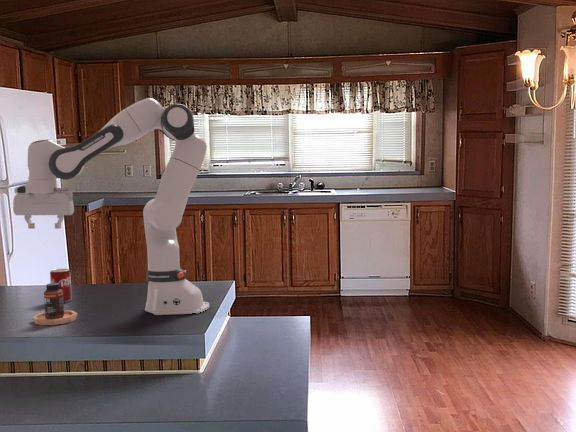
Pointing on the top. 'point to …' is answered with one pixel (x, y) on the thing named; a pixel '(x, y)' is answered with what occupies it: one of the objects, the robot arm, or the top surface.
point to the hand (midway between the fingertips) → (44, 228)
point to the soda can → (62, 282)
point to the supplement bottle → (53, 301)
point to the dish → (67, 318)
